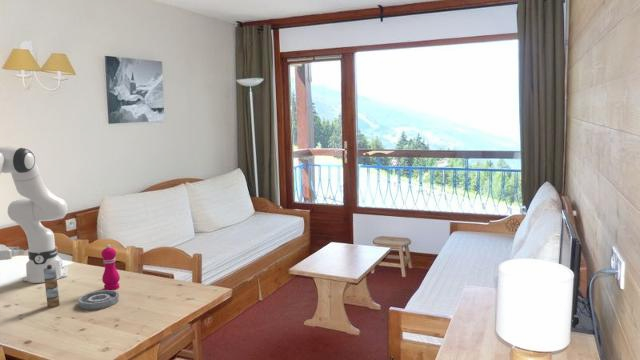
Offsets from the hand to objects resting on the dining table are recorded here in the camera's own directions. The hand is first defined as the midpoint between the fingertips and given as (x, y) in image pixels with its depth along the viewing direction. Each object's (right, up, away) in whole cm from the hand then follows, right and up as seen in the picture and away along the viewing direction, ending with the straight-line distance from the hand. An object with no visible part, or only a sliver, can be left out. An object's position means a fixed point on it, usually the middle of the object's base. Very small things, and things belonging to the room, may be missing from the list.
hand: (21, 250), depth 199 cm
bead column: (+8, -24, +9) cm, 26 cm away
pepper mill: (+24, -21, +28) cm, 42 cm away
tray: (+26, -23, +10) cm, 36 cm away
